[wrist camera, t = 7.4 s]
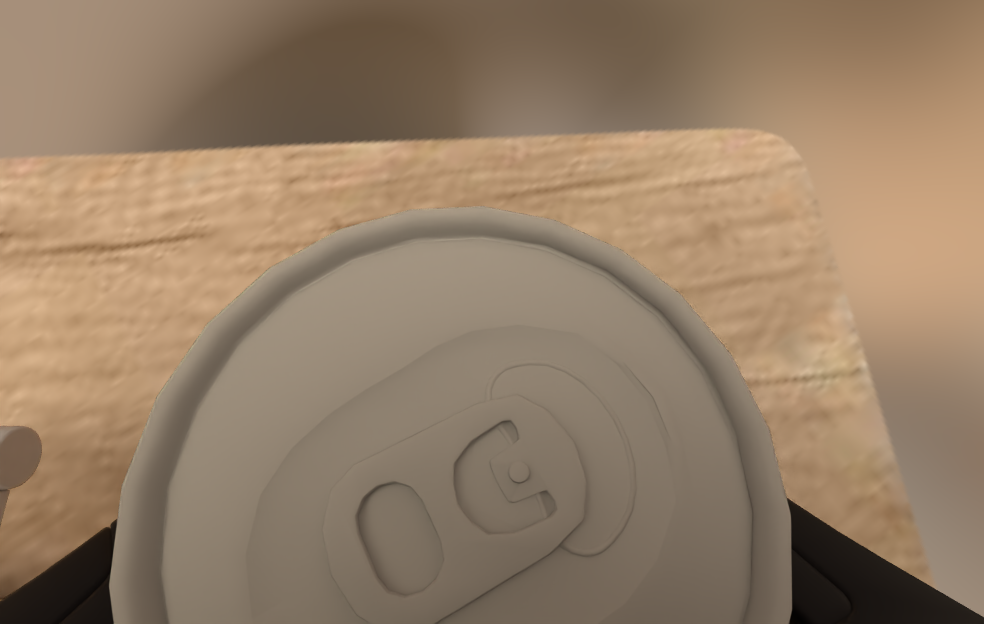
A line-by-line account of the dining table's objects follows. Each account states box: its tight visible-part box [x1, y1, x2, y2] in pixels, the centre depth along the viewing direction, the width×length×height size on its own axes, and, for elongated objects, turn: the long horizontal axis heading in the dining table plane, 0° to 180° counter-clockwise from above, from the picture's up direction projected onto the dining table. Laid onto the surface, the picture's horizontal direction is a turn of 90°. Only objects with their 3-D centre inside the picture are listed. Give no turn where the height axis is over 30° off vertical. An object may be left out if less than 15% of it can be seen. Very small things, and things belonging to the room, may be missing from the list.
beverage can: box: [109, 206, 792, 624], centre depth 9 cm, size 5×5×12 cm
